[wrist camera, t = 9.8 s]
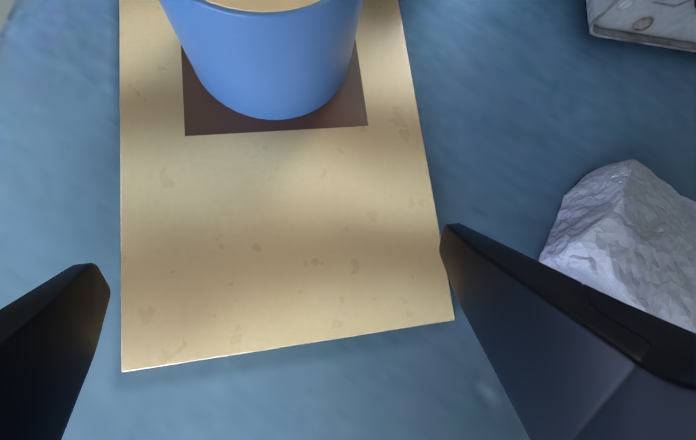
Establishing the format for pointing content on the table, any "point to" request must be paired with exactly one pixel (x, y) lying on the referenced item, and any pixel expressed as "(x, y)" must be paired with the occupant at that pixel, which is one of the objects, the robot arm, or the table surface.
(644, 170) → the stone block
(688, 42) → the vintage electronic device
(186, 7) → the blue cylinder
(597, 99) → the table surface
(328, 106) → the birch board
